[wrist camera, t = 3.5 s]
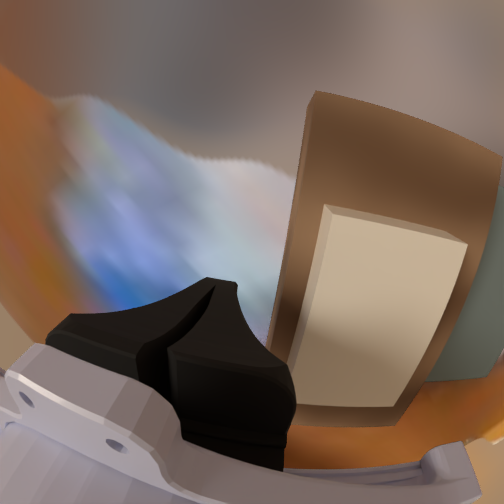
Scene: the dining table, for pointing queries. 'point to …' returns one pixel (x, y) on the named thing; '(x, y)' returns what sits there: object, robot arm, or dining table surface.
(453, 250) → the beige flat block
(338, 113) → the panel
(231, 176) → the dining table surface
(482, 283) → the mat
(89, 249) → the dining table surface
